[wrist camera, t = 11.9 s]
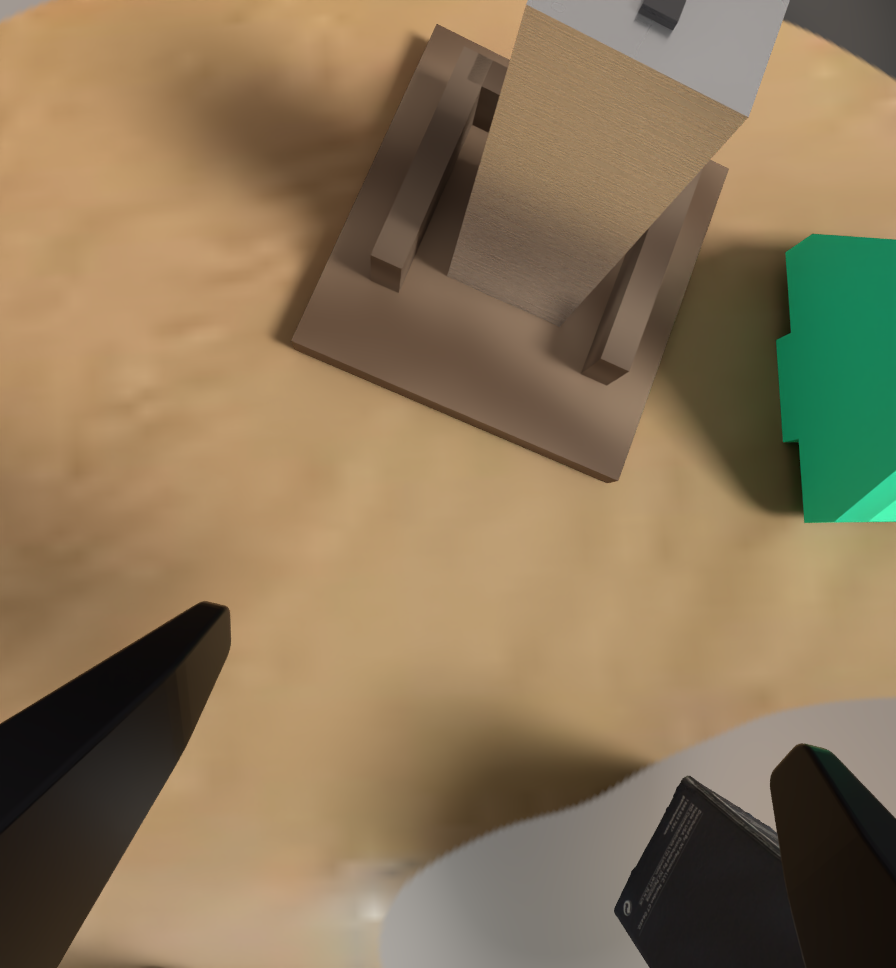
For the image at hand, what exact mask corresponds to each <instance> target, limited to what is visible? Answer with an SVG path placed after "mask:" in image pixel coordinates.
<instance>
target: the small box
mask: <svg viewBox="0 0 896 968" xmlns="http://www.w3.org/2000/svg"><path fill="white" fill-rule="evenodd" d="M614 912H615V915H616V916H617V917H618V919H619V920H620V922H621V924H622V925H623V927H624V928H625V930H626V932H627V933H628V935H629V936H630V938H631V939H632V941H633V942H634V944H635V946H636V947H637V949H638V950H639V952H640V953H641V955H642V956H643V958H644V960H645V961H646V963H647V964H648V966H649V967H650V968H805V964H804V960H803V957H802V953H801V949H800V945H799V941H798V937H797V933H796V929H795V925H794V921H793V917H792V913H791V909H790V904H789V900H788V895H787V890H786V885H785V880H784V874H783V867H782V861H781V855H780V848H779V842H778V835H777V833H776V832H775V831H774V830H772V829H771V828H770V827H769V826H767V825H765V824H764V823H762V822H760V820H758V819H756V818H754V817H753V816H752V815H751V814H749V813H747V812H745V811H743V810H742V809H741V808H740V807H737V806H736V805H734V804H733V803H731V802H730V801H728V800H726V799H724V798H723V797H721V796H720V795H718V794H716V793H715V792H713V791H712V790H710V789H708V788H707V787H705V786H704V785H702V784H701V783H699V782H698V781H696V780H695V779H694V778H692V777H691V776H686V777H685V778H683V779H682V780H681V783H680V784H679V786H678V787H677V789H676V792H675V794H674V795H673V799H672V801H671V803H670V805H669V807H667V809H666V812H665V814H664V816H663V818H662V820H661V822H660V824H659V825H658V827H657V829H656V831H655V833H654V835H653V837H652V838H651V840H650V842H649V844H648V845H647V847H646V849H645V851H644V852H643V855H642V857H641V858H640V860H639V862H638V864H637V866H636V867H635V868H634V869H633V870H632V872H631V875H630V877H629V879H628V881H627V883H626V885H625V887H624V889H623V891H622V893H621V896H620V898H619V900H618V902H617V904H616V906H615V909H614Z"/></svg>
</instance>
